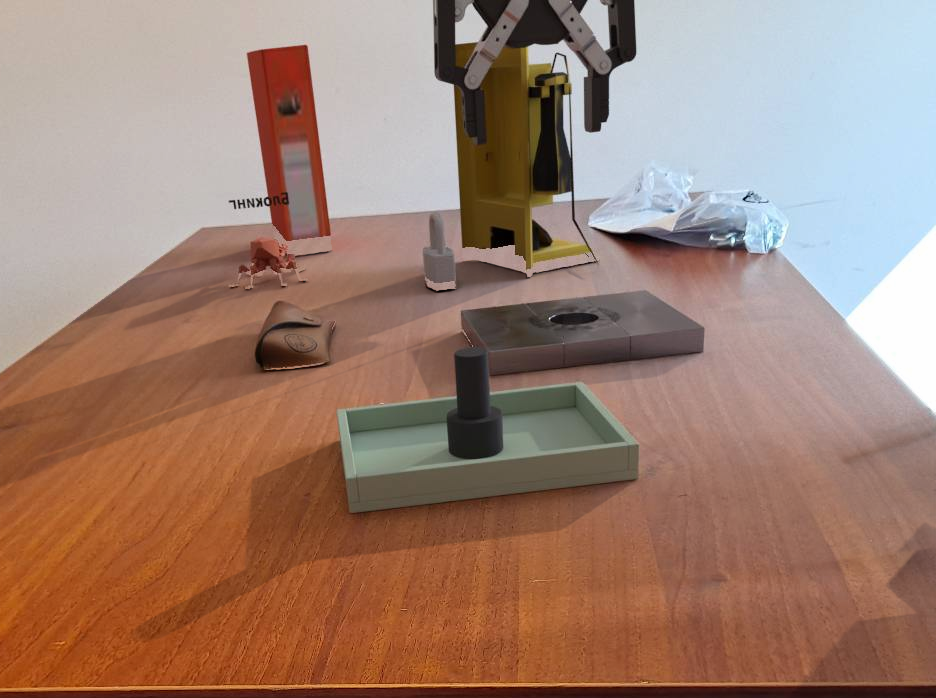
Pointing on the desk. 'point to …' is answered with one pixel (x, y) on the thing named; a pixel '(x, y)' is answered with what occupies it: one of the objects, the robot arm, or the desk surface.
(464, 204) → the vintage telephone
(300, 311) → the sunglasses case
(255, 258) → the beetle
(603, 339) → the plate
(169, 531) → the desk surface
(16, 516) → the desk surface
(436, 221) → the padlock
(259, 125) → the file binder
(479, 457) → the plug
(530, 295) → the desk surface
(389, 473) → the tray
